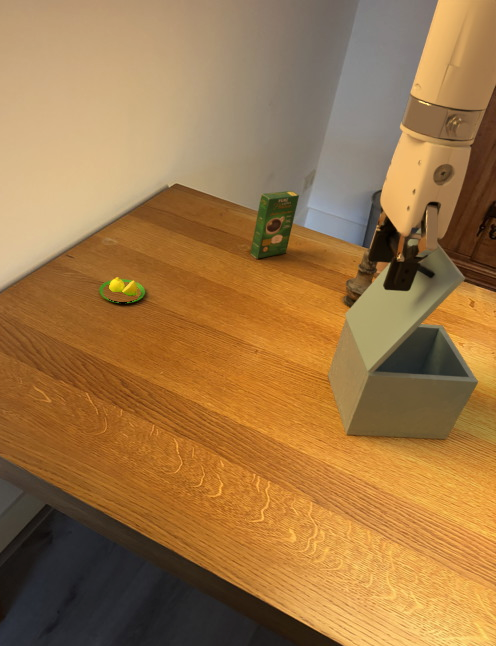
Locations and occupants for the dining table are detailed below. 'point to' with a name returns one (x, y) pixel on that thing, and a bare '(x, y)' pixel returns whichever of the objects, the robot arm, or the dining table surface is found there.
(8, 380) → the dining table surface
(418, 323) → the lid
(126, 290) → the plate with lemons
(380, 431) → the grey hinged box
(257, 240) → the coffee box
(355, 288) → the chess piece figurine
